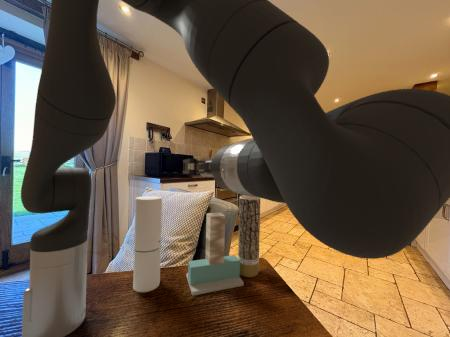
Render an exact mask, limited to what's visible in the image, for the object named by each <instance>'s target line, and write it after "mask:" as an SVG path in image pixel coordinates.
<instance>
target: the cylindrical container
mask: <svg viewBox="0 0 450 337" xmlns="http://www.w3.org/2000/svg"><path fill="white" fill-rule="evenodd" d="M134 206H135V208H134V210H135V211H134V239H133V240H134V243H133V248H134V249H133V272H132V273H133V279H132V280H133V282H132V288H133V290H134V291H135V292H137V293H147V292H148V293H149V292H151V291H153V290H156V289H157V288H158V287H159V286H160V283H161V255H162V254H161V250H162V249H161V248H162V213H163V212H162V211H163V209H162V208H163V197H162V196H160V195H159V196H158V195H144V196H136V197H135V205H134Z"/></svg>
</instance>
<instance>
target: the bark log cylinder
mask: <svg viewBox="0 0 450 337" xmlns="http://www.w3.org/2000/svg"><path fill="white" fill-rule="evenodd" d="M238 204H239V205H238V207H239V209H238V239H237V240H238V241H237V243H238V244H237V245H238V249H237V258H238V259H239V260H240V274H239V276H241V277H244V278H254V277H256V276H258V274H259V271H260V270H259V269H260V264H259V263H260V236H261V235H260V234H261V233H260V231H261V230H260V229H261V198H260V197H249V196H245V195H242V194H241V195H239V202H238Z"/></svg>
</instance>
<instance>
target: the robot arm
mask: <svg viewBox="0 0 450 337" xmlns="http://www.w3.org/2000/svg"><path fill="white" fill-rule="evenodd" d="M120 1H122V2H123V3H125V4H126V5H128V6H130V7H132V8H133V9H135V10H137V11H138V12H142V13H145V14H147V15H149V16H152V17H153V18H155V19H157V20H159V21H160V22H162V23H164V24H165V25H167V26H168V27H170V28H172V29H173V30H174V31H175V32H176V33H177V34H178V35H179V36H180V37H181V38H182V40H183V44H184V47H185V50H186V51H187V54H188V57H189V58H190V60H191V62H192V64H193V66H195V68H196V69H197V70H198V72H199V74H201V76H202V77H203V79H204V80H206V82H208V84H209V85H210V86H211V88H213V90H215V91H216V93H217V94H218V95H219V96H220V97H221V98H222V99H223V101H225V102H226V103H227V105H228V106H229V107H230V108H231V109H232V110H233V111H234V112H235V114H236V115H238V116H239V117H240V119H241V120H242V121H243V123H244V125H245V126H246V128H247V130H248V131H249V134H250V135H251V137H252V138H246V139H242V140H239V141H235V142H233V143H230V144H226V145H224V146H222V147H221V148H220V149H219V150H218V151H217V152H216V154H215V155H214V156H211V157H207V156H206V157H201V159H199V160H198V158H195V157H191V158H185V159H183V160H182V165H183V167H182V174H184V175H190V176H195V175H200V176H201V177H202V178H213V179H214V181H215V182H216V184H218V185H219V187H221V188H222V189H224V190H226V191H228V192H232V193H236V194H238V195H241V196H242V195H245V196H249V197H260V199H263V200H268V201H270V202H275V203H280V204H282V203H283V204H286V206H287V208H288V210H289V212H291V214H292V215H293V217H294V218H295V219H296V221H297V222H298V224H300V226H301V227H303V229H304V230H305V231H307V232H308V233H309V235H311V236H312V237H313V238H314V239H316V240H317V241H319V242H320V243H321V244H324V246H326V247H328V248H330V249H332V250H334V251H337V252H339V253H341V254H343V255H348V256H351V257H355V258H359V259H367V260H368V259H373V260H375V259H384V258H388V257H391V256H393V255H395V254H399V252H401V251H402V250H403V249H405V248H406V247H408V246H409V245H411V244H412V243H413V242H414V241H415V240H416V239H417V237H418V236H420V235H421V233H422V232H423V231H424V230H425V229H426V228H427V226H428V225H429V224H430V222H431V221H432V220H433V219H434V217H435V216H436V215H437V214H438V213H439V211H440V210H441V209H442V208H443V207H444V205H445V204H446V203H447V202H448V201H449V200H450V94H446V93H444V92H439V91H435V90H431V89H425V88H424V89H423V88H398V89H390V90H385V91H381V92H380V91H379V92H377V93H373V94H369V95H366V96H364V97H360V98H358V99H355V100H353V101H350V102H347V103H345V104H343V105H341V106H338V107H336V108H334V109H333V108H332V110H331V109H330V110H329V111H327V112H325V110H324V108H323V107H322V106H321V104H320V103H319V102H318V99H317V98H316V96H315V95H316V94H317V93H318V91H319V89H320V88H321V87H322V85H323V83H324V81H325V79H326V77H327V75H328V72H329V67H330V56H329V53H328V50H327V48H326V47H325V45H324V43H323V42H322V41H321V40H320V39H319V38H318V37H317V36H316V35H315V34H314V33H313V32H312V31H310V30H309V29H308V28H306V27H305V26H304V25H302V24H301V23H300V22H298V21H297V20H296V19H294V18H293V17H291V16H290V15H289V14H287V13H286V11H285V12H284V11H283V10H282V9H281V8H279V7H277V6H276V5H275V4H273V3H272V2H271V1H269V0H120ZM99 2H100V0H50V15H49V24H48V32H47V38H46V44H45V49H44V56H43V61H42V67H41V72H40V77H39V82H38V86H37V87H38V88H37V94H36V99H35V100H36V102H35V108H34V118H33V130H32V131H33V133H32V139H31V140H32V141H31V147H30V152H29V156H28V160H27V163H26V166H25V170H24V171H25V172H24V174H23V178H22V182H21V183H22V184H21V187H20V188H21V190H20V198H21V199H20V201H21V203H22V206H23V208H24V209H25V211H27V212H29V213H32V214H48V213H58V212H66V211H68V212H67V214H65V216H63V217H62V218H61V219H59V220H58V221H56V222H54V223H52V224H50V225H47V226H45V227H43V228H40V229H38V230H36V231H35V232H34V233H32V235H31V236H30V242H29V243H30V247H29V249H30V250H29V251H30V252H29V253H30V255H29V256H30V257H29V283H28V284H29V286H28V287H27V288H26V289H25V290H24V291H23V293H22V319H21V320H22V321H21V323H22V324H21V325H22V326H21V337H66V336H67V335H70V334H71V333H72V332H74V331H76V329H78V328H79V327H80V326H81V325H82V324H83V322H84V321H85V319H86V310H87V304H86V298H87V270H88V269H87V268H88V267H87V266H88V241H89V240H88V237H89V236H88V233H89V227H90V226H89V224H90V223H89V222H90V209H91V208H90V206H91V199H92V187H93V186H92V177H91V175H90V174H91V173H90V172H89V171H88V169H86V168H85V167H65V166H64V167H62V166H63V165H64V164H66V163H67V162H69V161H70V160H72V159H73V158H75V157H77V156H79V155H80V154H82V153H83V152H85V151H87V150H88V149H90V148H91V147H92V146H94V145H95V144H97V143H98V142H99V141H100V140H101V139H102V138H103V137H104V135H105V133H106V132H107V129H108V127H109V124H110V122H111V119H112V116H113V114H114V111H115V107H116V102H117V97H116V92H115V88H114V85H113V81H112V77H111V75H110V72H109V70H108V67H107V64H106V62H105V58H104V57H103V53H102V50H101V45H100V42H99V37H98V28H97V27H98V9H99Z"/></svg>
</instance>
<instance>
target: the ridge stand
mask: <svg viewBox="0 0 450 337" xmlns="http://www.w3.org/2000/svg"><path fill="white" fill-rule="evenodd" d="M187 264H188V265H187V272H186V274H185V275H186V276H185V277H186V279H187V283H188V285H189V290H190V292H191V295H192V296H198V295H202V294H203V295H204V294H207V293H213V292H218V291H223V290H228V289H234V288H238V287H242V286H243V287H244V285H245V284H244V281H243V279H242V278H241V277H240V260H239V259H238V256H237V255H235V254H232V255H231V254H230V255H227V256H226V255H224V263H223V264H216V265H209V264H208V262H207V261H206V259H205V258H202V259H196V260H189V261H188V263H187Z"/></svg>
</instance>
